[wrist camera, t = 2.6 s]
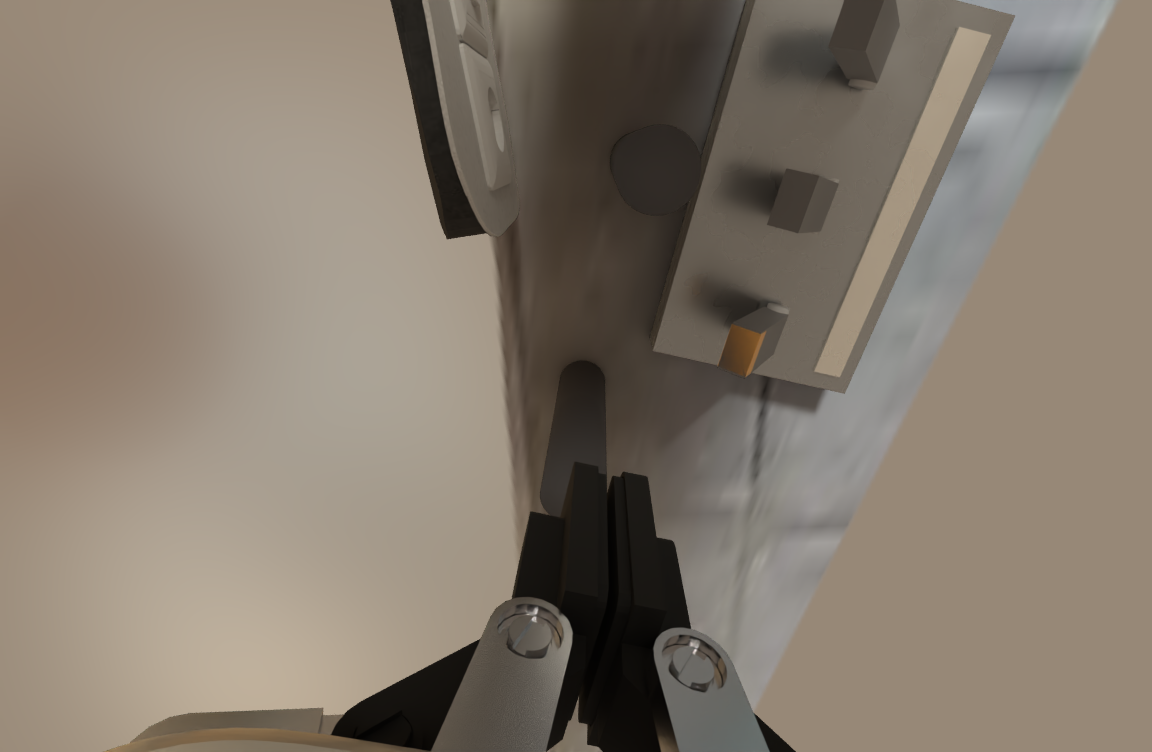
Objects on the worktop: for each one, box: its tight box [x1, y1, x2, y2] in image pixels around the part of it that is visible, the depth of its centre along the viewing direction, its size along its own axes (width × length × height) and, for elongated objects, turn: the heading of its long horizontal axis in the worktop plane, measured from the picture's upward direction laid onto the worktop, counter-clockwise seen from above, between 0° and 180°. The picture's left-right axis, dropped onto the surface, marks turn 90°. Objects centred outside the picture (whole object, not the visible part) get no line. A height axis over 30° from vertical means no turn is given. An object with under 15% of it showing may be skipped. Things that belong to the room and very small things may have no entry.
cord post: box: [540, 361, 607, 517], centre depth 31 cm, size 3×3×13 cm
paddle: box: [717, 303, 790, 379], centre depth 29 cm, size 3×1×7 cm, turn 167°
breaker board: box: [650, 0, 1015, 394], centre depth 31 cm, size 20×12×3 cm, turn 168°
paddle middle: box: [767, 168, 839, 235], centre depth 27 cm, size 3×1×7 cm, turn 168°
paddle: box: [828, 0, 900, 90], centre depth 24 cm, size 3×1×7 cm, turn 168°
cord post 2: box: [610, 125, 701, 216], centre depth 25 cm, size 3×3×13 cm
